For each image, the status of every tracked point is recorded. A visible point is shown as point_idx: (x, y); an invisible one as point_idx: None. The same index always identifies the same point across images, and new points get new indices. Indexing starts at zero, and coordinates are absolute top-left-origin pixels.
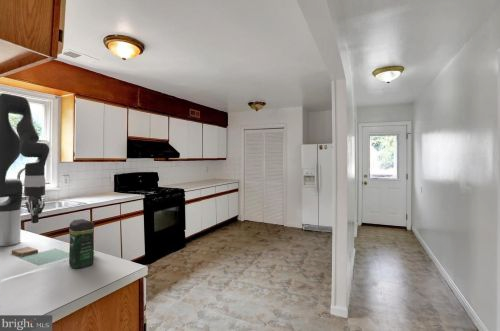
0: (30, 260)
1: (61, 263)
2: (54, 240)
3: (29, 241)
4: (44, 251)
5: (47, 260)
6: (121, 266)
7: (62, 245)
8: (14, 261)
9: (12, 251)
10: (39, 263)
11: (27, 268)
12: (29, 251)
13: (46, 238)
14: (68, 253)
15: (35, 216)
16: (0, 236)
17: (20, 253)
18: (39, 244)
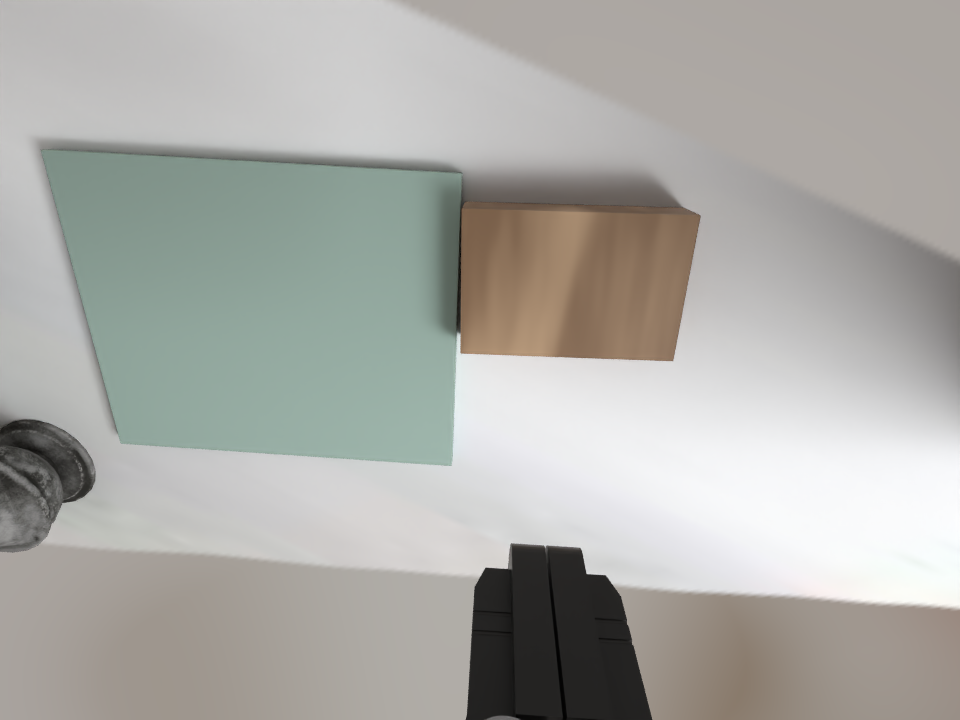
0: (266, 187)
1: (15, 295)
2: (738, 587)
3: (953, 493)
4: (446, 384)
5: (137, 263)
6: None
7: (523, 541)
8: (424, 114)
9: (678, 212)
10: (98, 183)
11: (87, 74)
12: (467, 282)
13: (875, 593)
14: (204, 439)
15: (470, 706)
16: None
17: (495, 209)
18: (753, 483)
